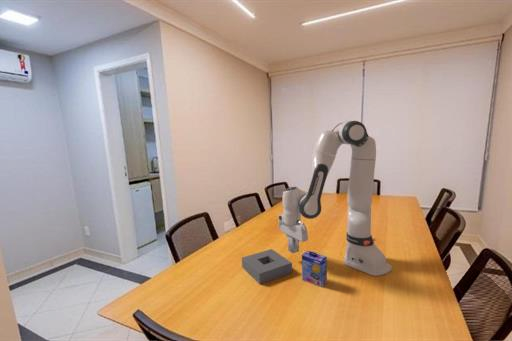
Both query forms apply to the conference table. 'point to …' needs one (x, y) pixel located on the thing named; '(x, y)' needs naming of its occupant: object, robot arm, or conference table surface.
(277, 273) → the socket block
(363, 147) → the robot arm
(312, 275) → the ink cartridge box
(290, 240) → the peg
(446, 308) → the conference table surface
